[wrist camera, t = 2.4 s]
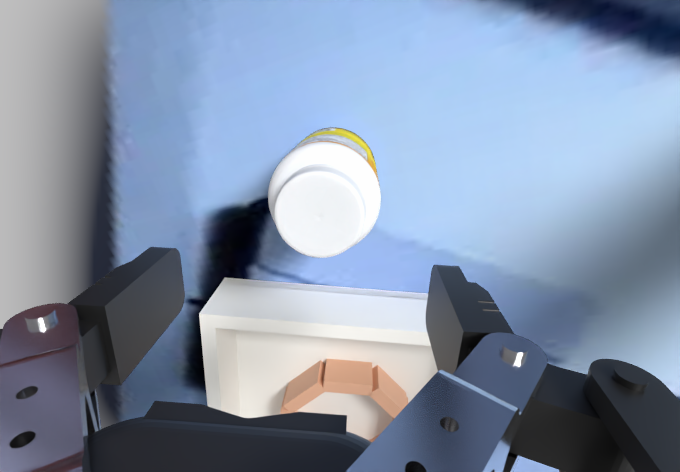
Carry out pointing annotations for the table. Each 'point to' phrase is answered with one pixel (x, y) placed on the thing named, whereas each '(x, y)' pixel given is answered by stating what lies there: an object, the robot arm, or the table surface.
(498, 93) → the table surface
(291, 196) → the supplement bottle
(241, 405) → the walled box
